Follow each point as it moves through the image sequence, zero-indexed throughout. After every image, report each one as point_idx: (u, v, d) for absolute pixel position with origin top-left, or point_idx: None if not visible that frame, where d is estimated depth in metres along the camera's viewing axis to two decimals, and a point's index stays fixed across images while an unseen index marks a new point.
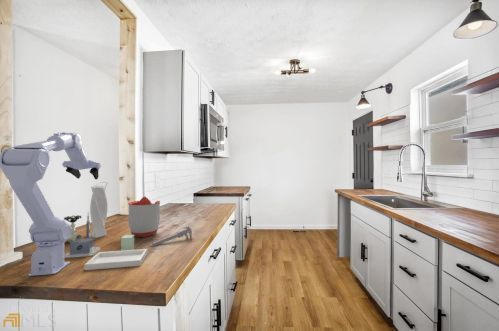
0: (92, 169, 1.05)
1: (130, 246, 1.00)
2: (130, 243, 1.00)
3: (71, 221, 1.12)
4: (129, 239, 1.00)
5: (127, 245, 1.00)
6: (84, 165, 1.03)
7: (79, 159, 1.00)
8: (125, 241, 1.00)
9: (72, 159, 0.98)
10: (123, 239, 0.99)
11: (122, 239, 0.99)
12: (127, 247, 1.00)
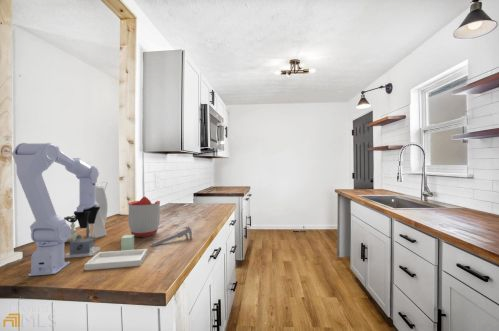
0: None
1: (130, 246, 1.00)
2: (130, 243, 1.00)
3: (71, 221, 1.12)
4: (129, 239, 1.00)
5: (127, 245, 1.00)
6: (80, 203, 0.99)
7: (87, 193, 1.00)
8: (125, 241, 1.00)
9: (81, 192, 0.99)
10: (123, 239, 0.99)
11: (122, 239, 0.99)
12: (127, 247, 1.00)
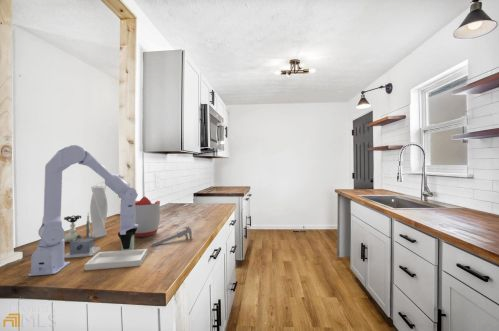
0: None
1: (130, 246, 1.00)
2: (130, 243, 1.00)
3: (71, 221, 1.12)
4: None
5: None
6: (121, 225, 0.99)
7: (123, 215, 0.99)
8: None
9: (120, 213, 1.00)
10: None
11: None
12: None
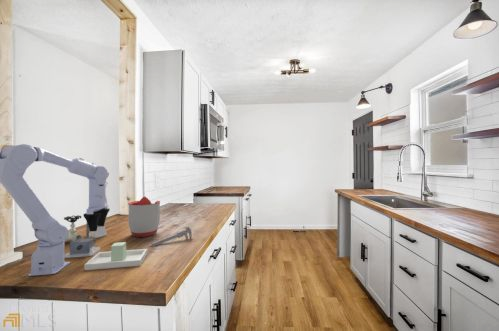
0: None
1: (121, 255, 0.88)
2: (121, 252, 0.88)
3: (71, 221, 1.12)
4: (120, 247, 0.88)
5: (118, 254, 0.88)
6: (90, 205, 0.95)
7: (93, 195, 0.95)
8: (115, 250, 0.88)
9: (89, 193, 0.95)
10: (113, 247, 0.88)
11: (112, 247, 0.88)
12: (118, 256, 0.88)
